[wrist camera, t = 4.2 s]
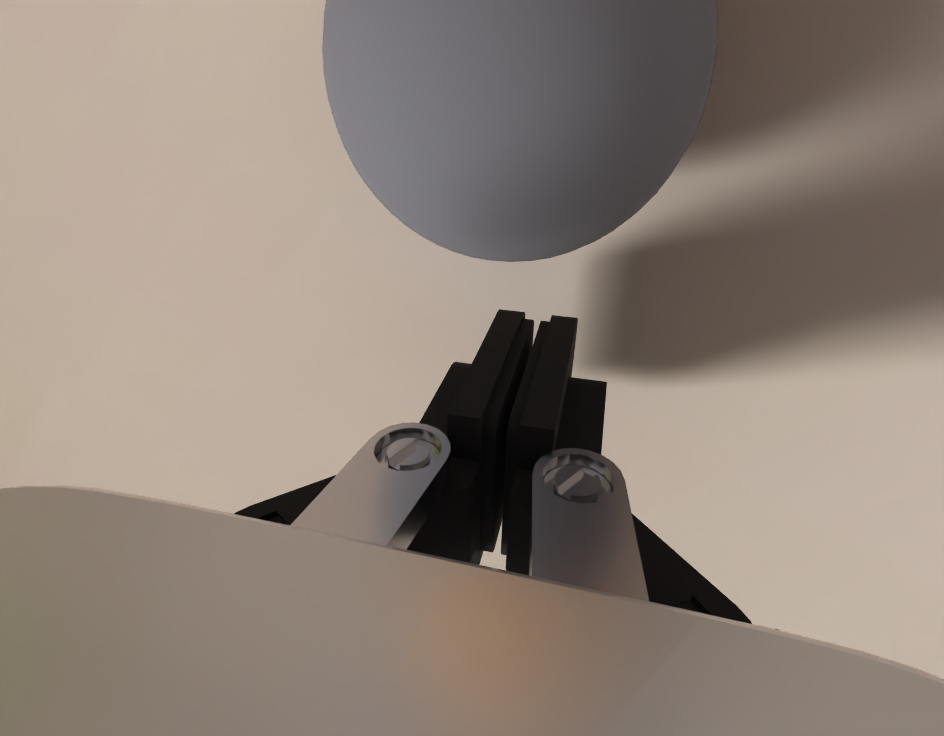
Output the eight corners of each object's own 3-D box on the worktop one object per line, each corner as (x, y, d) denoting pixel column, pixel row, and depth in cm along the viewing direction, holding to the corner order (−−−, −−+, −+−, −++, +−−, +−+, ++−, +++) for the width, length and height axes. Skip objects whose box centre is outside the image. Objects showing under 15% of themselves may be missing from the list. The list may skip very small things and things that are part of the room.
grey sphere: (691, 346, 7) (699, 162, 11) (765, -286, 4) (741, -244, 7) (334, 325, 9) (443, 173, 13) (142, -110, 5) (372, -147, 9)
